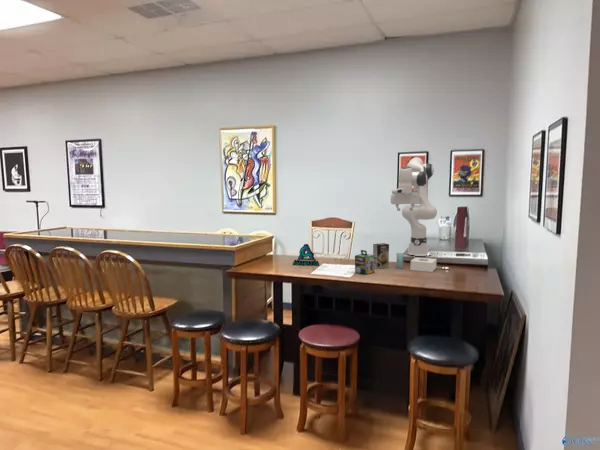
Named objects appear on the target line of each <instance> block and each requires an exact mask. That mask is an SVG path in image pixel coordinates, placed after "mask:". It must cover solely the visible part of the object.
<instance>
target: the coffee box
mask: <svg viewBox="0 0 600 450" xmlns="http://www.w3.org/2000/svg"><path fill="white" fill-rule="evenodd" d="M372 255H374V269H377V270H378V269H386V268H387V269H389V267H390V266H389V265H390V262H389V261H390V244H389V243H385V242H384V243H372Z"/></svg>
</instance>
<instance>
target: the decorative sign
mask: <svg viewBox="0 0 600 450" xmlns="http://www.w3.org/2000/svg"><path fill="white" fill-rule="evenodd" d="M297 257H298V258H297V259H294V260H293V262H292V266H311V267H313V266H314V267H315V266H316V267H319V266H320V263H319V260H317V259H316V258H315V255H314V252H313V251H312V250H311V247H310V245H309V243H304V244H303V246H302V247H301V248H300V249H299V255H298V256H297Z"/></svg>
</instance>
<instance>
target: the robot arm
mask: <svg viewBox="0 0 600 450" xmlns="http://www.w3.org/2000/svg"><path fill="white" fill-rule="evenodd" d="M434 169H435V168H434V166H433V164H432V163H424V162H423V159H422V158H420V157H413V158H411V159H410V160H409V162H408V163H407V164H406V166H401V167H400V168H399V171H398V172H399V173H398V183H399V184H398V187H397V188H395V189H392V190H391V193H392V194H391V195H390V204H391V205H395V207H396V211H397V212H400V211H401V214H402V217H403V218H404V219H405V220H406V221H407V222H408V224H409V225H410V229H411V230H410V232H411V235H410V236H411V237H410V243H408V247H407V249H408V251H407V253H413V254H426V253H428V251H429V252H430V249H429V244H428V243H427V242H428V238H427V227H426V226H425V224H422V223H420V222H419V220H422V221H423V220H434V219H435V218H436V216H437V215H438V210H437V208H436V206H434V205H432V204H431V203H430V201H429V196H428V192H429V190H428V189H429V188H428V187H429V185H428V180H430V178H432V177H433V175H434V172H435V170H434ZM400 205H405V206H403V207H402V210H401V208H400V207H399V206H400Z"/></svg>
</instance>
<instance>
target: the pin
mask: <svg viewBox="0 0 600 450" xmlns="http://www.w3.org/2000/svg"><path fill="white" fill-rule="evenodd" d="M403 255H404V253H403V252H396V263H395V264H396V269H398V270H401V269H403V264H404V261H403V259H404V257H403Z"/></svg>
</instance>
